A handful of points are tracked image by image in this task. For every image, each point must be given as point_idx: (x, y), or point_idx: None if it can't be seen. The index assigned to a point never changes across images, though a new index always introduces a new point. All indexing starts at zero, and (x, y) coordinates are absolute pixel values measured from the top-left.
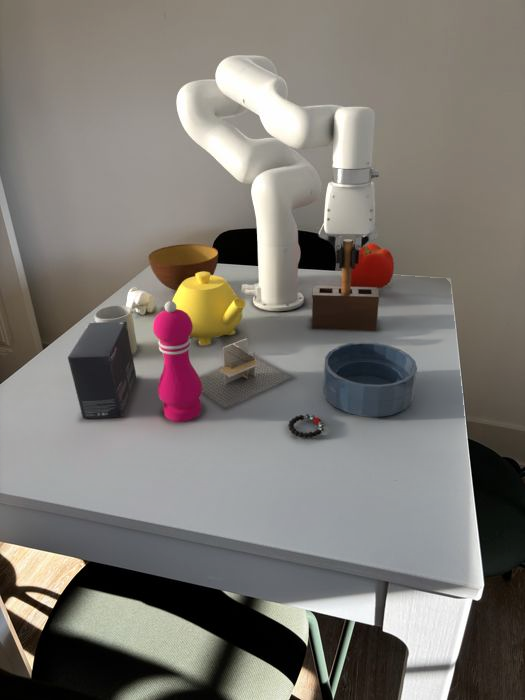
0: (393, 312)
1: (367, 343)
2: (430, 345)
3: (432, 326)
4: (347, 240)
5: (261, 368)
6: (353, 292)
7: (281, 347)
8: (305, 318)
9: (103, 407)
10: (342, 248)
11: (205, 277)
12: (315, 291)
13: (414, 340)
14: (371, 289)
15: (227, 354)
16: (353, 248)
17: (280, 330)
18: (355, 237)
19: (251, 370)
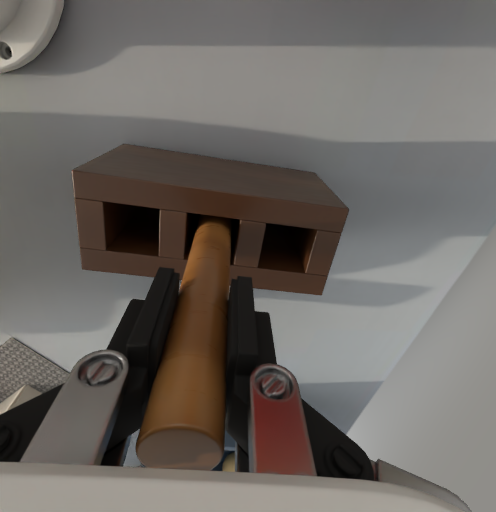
0: (396, 111)
1: (231, 450)
2: (391, 308)
3: (453, 220)
4: (172, 459)
5: (44, 373)
6: (240, 255)
7: (63, 305)
8: (98, 140)
9: None
10: (149, 378)
11: None
12: (88, 236)
13: (369, 287)
14: (318, 228)
15: None
16: (227, 417)
17: (36, 221)
18: (251, 453)
19: (27, 398)
